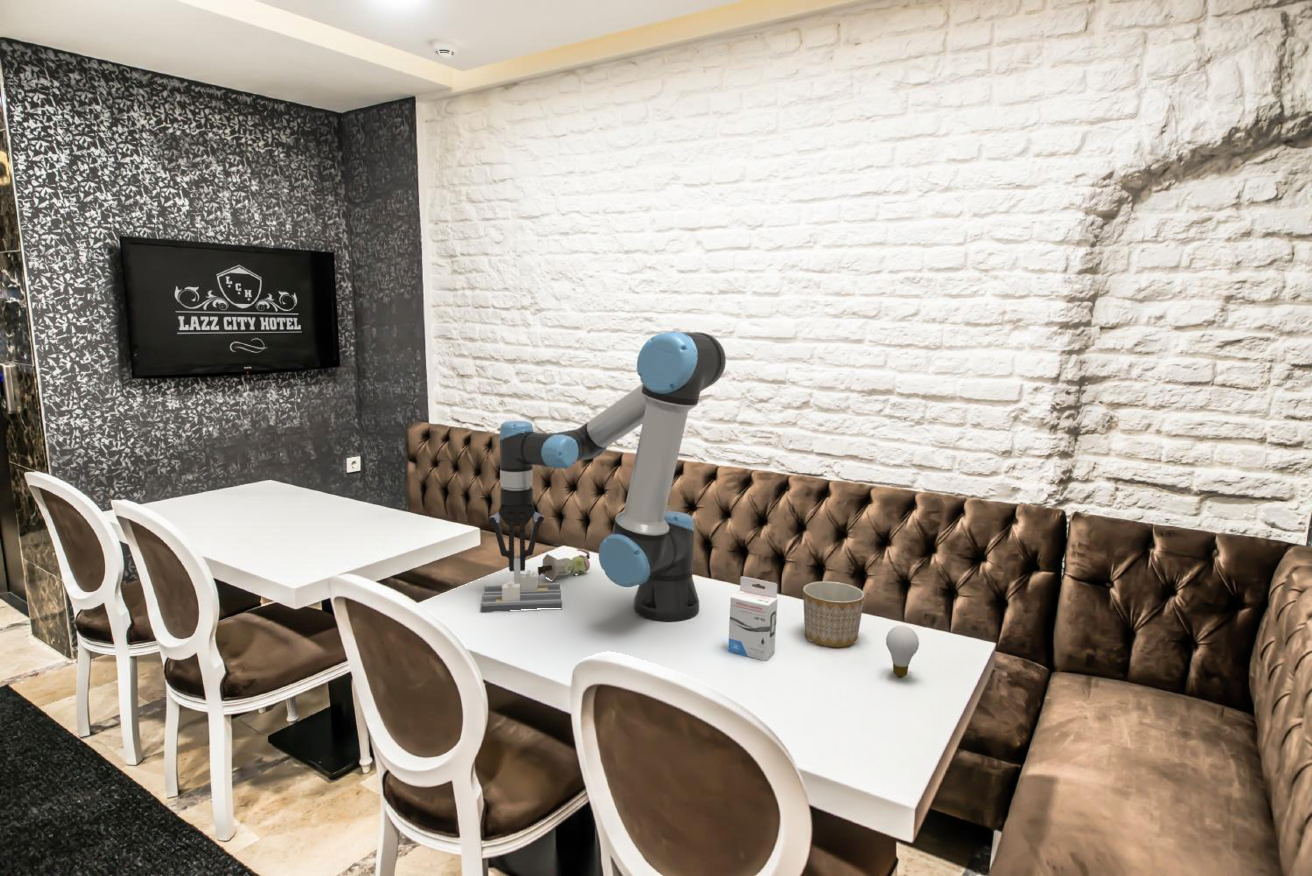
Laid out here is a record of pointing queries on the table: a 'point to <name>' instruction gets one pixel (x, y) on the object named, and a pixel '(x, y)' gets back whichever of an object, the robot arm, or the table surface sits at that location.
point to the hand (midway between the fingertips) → (517, 583)
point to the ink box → (753, 619)
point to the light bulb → (902, 648)
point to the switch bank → (522, 598)
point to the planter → (832, 613)
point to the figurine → (564, 565)
